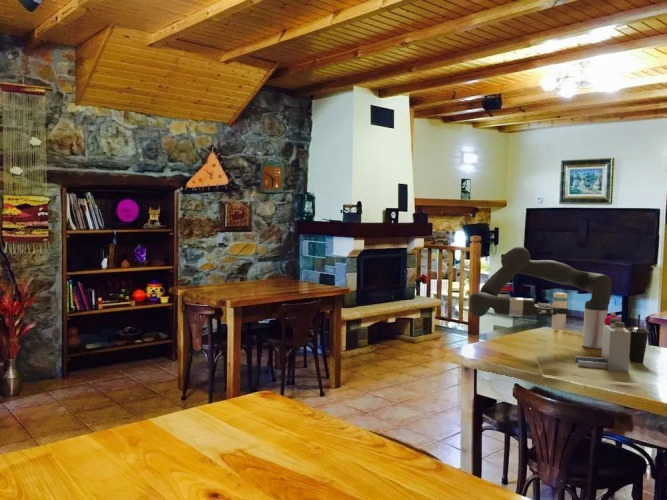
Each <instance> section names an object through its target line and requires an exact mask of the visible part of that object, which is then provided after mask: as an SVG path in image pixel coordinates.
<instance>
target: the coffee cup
mask: <svg viewBox="0 0 667 500" xmlns="http://www.w3.org/2000/svg"><path fill="white" fill-rule="evenodd" d="M567 302H568V293H566V292H553V296H552V304H553V307H557V308H566V309H567V307H568V305H567V304H568V303H567ZM551 312H553V311H551ZM566 317H567V314H556V315H551V329H553V330H557V331H565V330H566V323H567V318H566Z"/></svg>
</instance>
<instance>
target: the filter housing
mask: <svg viewBox="0 0 667 500" xmlns="http://www.w3.org/2000/svg"><path fill="white" fill-rule="evenodd" d="M610 326H611V325H603V339H602V350H601V355H600V356H601V357H593V356H592V357H591V356H589V357H588V356H579V355H578V356H577V355H575V356H574V362H575V364H576V365H577V367H578V368H579V367H580V368H590V369H591V368H593V369H604V370H605V369H606V370H607V371H612V372H625V373H629V367H630V366H629V365H630V361H629V353H630V338H631V332H630V331H628V328H626V327H625V326H624V327H623V332H619V331H615V329H616V327H610Z"/></svg>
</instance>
